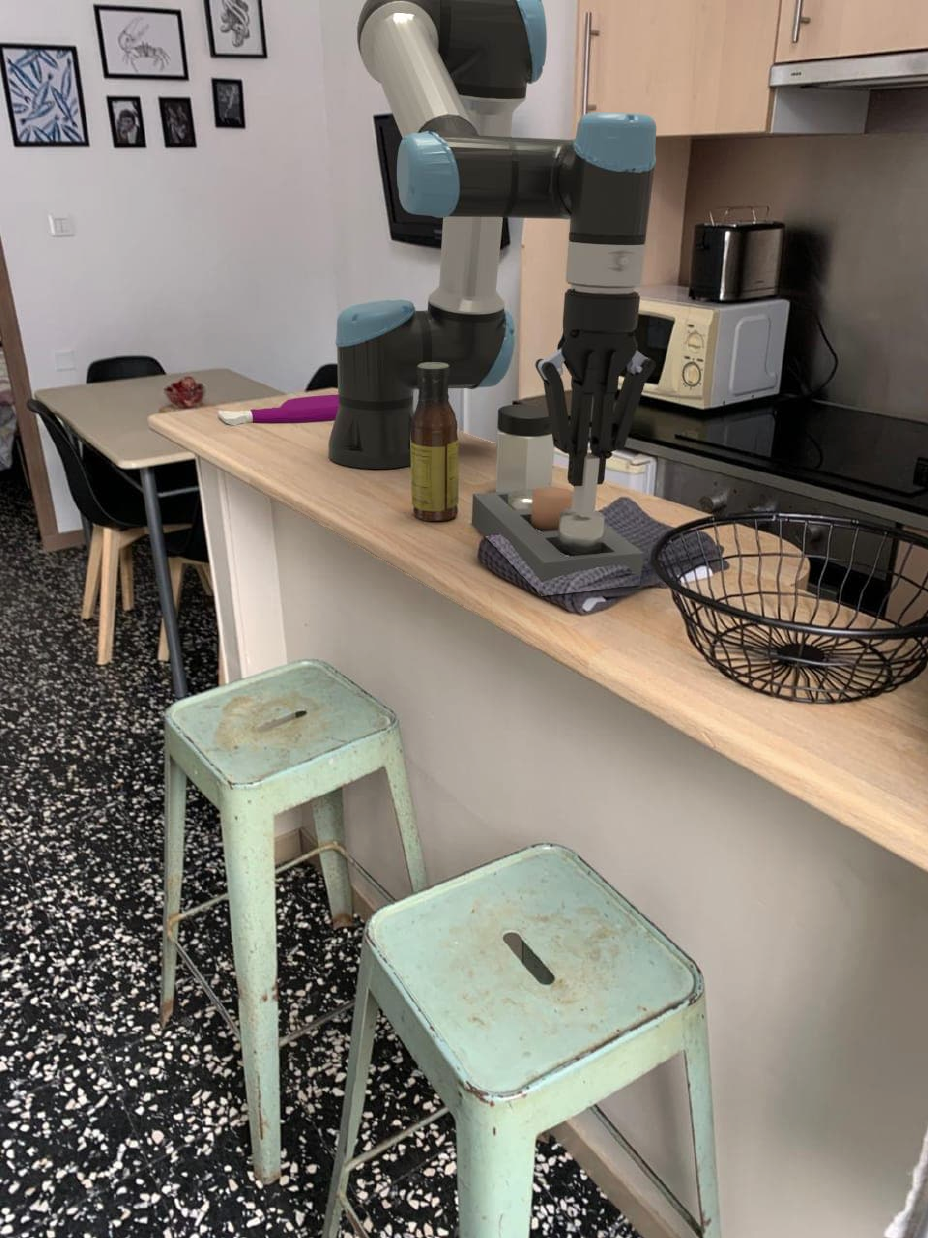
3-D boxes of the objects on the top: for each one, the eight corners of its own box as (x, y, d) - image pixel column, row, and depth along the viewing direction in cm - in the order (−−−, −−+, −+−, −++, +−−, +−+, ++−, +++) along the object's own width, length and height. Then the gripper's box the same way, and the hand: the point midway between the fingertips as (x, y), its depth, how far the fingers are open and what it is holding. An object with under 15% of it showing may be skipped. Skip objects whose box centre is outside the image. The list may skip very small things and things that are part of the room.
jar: (553, 505, 130) (559, 419, 125) (494, 503, 130) (498, 417, 125) (548, 485, 138) (554, 404, 133) (493, 483, 138) (497, 402, 133)
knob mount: (471, 523, 122) (472, 493, 121) (556, 516, 126) (558, 487, 124) (541, 596, 102) (543, 562, 100) (639, 586, 105) (643, 553, 104)
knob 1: (500, 521, 122) (502, 492, 120) (536, 518, 123) (538, 489, 122) (514, 534, 118) (516, 504, 116) (551, 531, 119) (553, 501, 117)
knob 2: (550, 543, 107) (552, 509, 105) (589, 539, 108) (592, 506, 107) (567, 559, 103) (570, 524, 101) (608, 555, 104) (612, 521, 102)
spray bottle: (363, 420, 172) (230, 434, 162) (343, 407, 180) (215, 419, 170) (363, 404, 170) (229, 417, 160) (342, 391, 179) (214, 403, 169)
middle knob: (524, 519, 114) (526, 488, 112) (562, 516, 115) (564, 485, 114) (540, 533, 110) (542, 501, 108) (579, 530, 111) (582, 498, 109)
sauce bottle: (445, 505, 129) (449, 358, 120) (466, 519, 124) (471, 367, 115) (401, 511, 126) (402, 360, 117) (421, 526, 121) (423, 370, 112)
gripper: (557, 293, 88) (541, 528, 98) (679, 292, 92) (651, 519, 102) (528, 284, 95) (515, 506, 105) (643, 284, 99) (620, 498, 109)
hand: (582, 512), depth 104 cm, fingers closed
